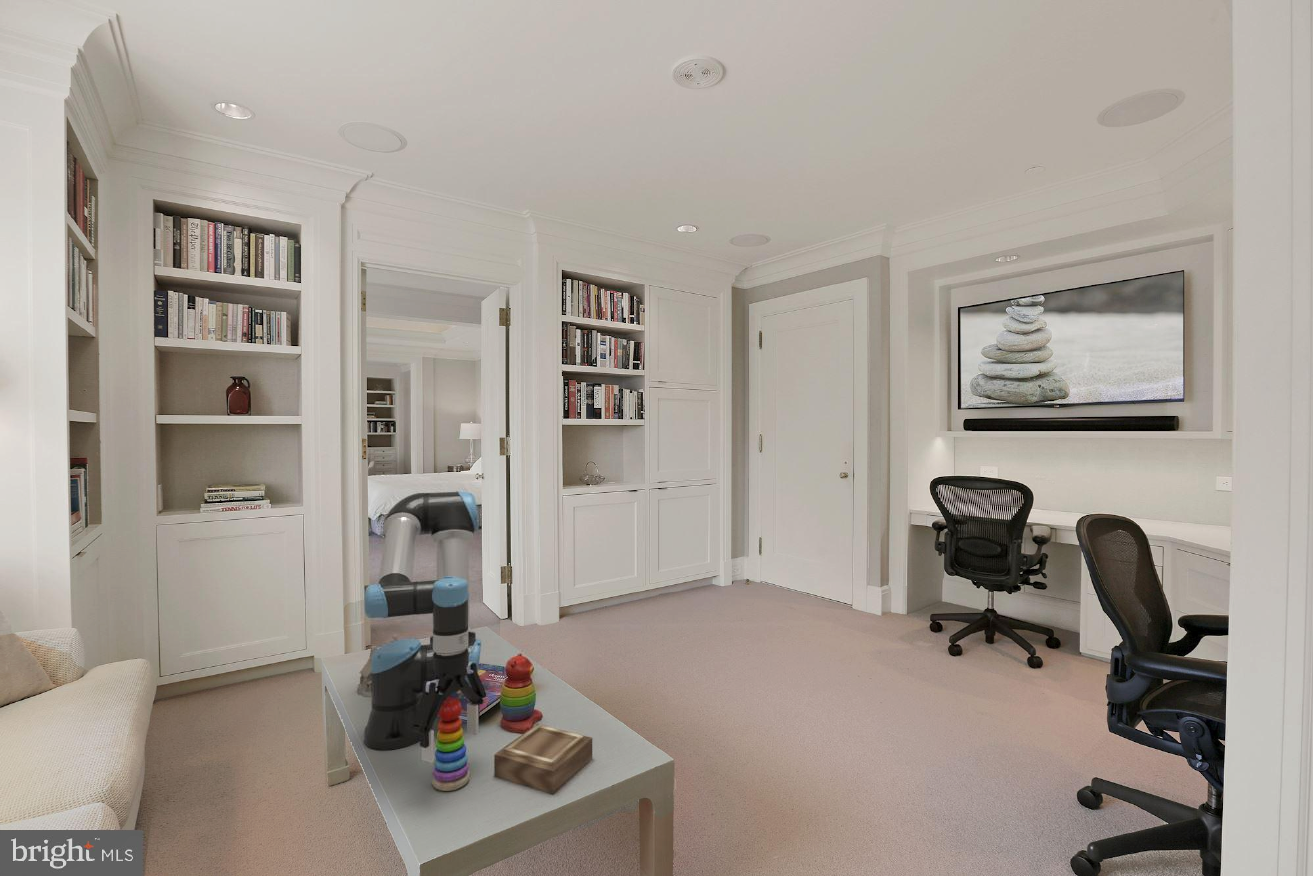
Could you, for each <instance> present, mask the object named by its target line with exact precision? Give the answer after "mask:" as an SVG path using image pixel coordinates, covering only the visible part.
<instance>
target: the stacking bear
mask: <svg viewBox="0 0 1313 876" xmlns="http://www.w3.org/2000/svg"><path fill="white" fill-rule="evenodd" d="M534 670H535V669H534V665H533V663H532V662H531V660H530V659H529V658H528V657H526V656H524V655H522V653H521V652H519V653H518V654H517V655H515V656H512V657H511V658H509V659H508V660H507V662H506V663H505V674H506V679H505V680H504V682H503V684H502V685H501V690H500V694H499V705H500V706H499V707H500V710H501V714H502V716H501V719H500V726H501V727H502V728H503V729H505V730H506V731H509V732H511V733H516V734H524V733H525V732H527V731H528V730H529V729H531V728H532V727H534V724H535V723H536V722H539V721H541V719H542V718H543V713H542V711H540V710H538V709H535V706H536V702H537V698H536V697H537V693H536V689H535V685H534V681H533V677H531V676H532V674H533V672H534Z"/></svg>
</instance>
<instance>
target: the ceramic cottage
mask: <svg viewBox="0 0 1313 876" xmlns="http://www.w3.org/2000/svg"><path fill="white" fill-rule="evenodd" d="M397 640H398V637H397V635H392V638H391V639H390V641H389V643H390V642H393V641H397ZM377 649H378V646H377V645H372V646H371V647H370V651H369V652H370V653H369V658H368V660H367V662H366V664H364V666H363V667H362V669H361V670H360V671H359V672H358V673H359V674H360V677H359V683H358V684H357V687H356V688H357V689H356V693H357V694H358V695H359V696H362V697H363V698H372V680H371V671H370V670H371V665H372V656H373V653H374V652H375V651H376V650H377Z"/></svg>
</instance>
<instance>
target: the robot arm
mask: <svg viewBox="0 0 1313 876" xmlns="http://www.w3.org/2000/svg"><path fill="white" fill-rule="evenodd" d="M478 513H479V512H478V507H477V503H476V498H475V495H474V494H473V493H472V492H470V491H458V490H456V491H443V492H441V491H440V492H418V493H414V494H410V495H408V496H406V497H404V498H402V499H401V500H399V501H398V502H397V503H395V504H394V505H393V506H392V507H391V509H390V510H389V511H388V512H387V514H386V516H385V518H384V521H383V526H382V531H383V534H384V536H385V539H384V545H383V550H382V557H381V562H380V568H379V574H378V580H377V583H375V584H370V585H368V586H367V587H366V588H365V592H364V593H365V594H364V613H365V616H366V617H367V618H369V619H378V618H380V619H381V618H382V619H387V618H395V617H397V618H398V617H405V616H413V615H414V616H415V615H417V616H418V615H428V614H432V625H433V626H432V634H431V635H430V636H429V644H422V642H421V640H420V639H418V638H410V637H409V638H408V637H407V638H403V639H402V638H401V639H397V641H393V642H390V641H389V642H387V643H386V644H384V645H382V646H380V647H377V650H376V651H375V652H374V653H373V656H372V665H371V670H370V671H371V680H372V697H371V710H370V713H369V716H368V721H367V724H366V726H365V728H364V730H363V731H364V732H363V742H364V745H366V747H368V748H371V749H375V750H381V751H388V750H394V749H400V748H406V747H407V746H411V745H413V744H415V743H417V742H419V746H420V748H421V761H424V762H427V763H434V761H435V742H434V741H435V737H434V736H435V734H434V733H435V731H434V730H433V729H432V727H433V725H434V723H435V721H436V719H437V717H438V713H439V711H440V709H441V706H442V704H443V702H444V701H445V700H447V698H448V697H450V696H451V695H453V694H454V693H456V692H459V691H460V692H461V694H462V695H463V696H464V697H465V698H466V699H467V700H468V701H469V702H468V703H467V704H466V733H468V734H473V735H478V734H479V717H480V709H481V708H480V707H481V706H480V705H483V703H484V702H485V701H484V699H485V698H487V692H486V690H485V688H484V685H483V683H482V680H481V678H480V676H479V668H480V667H479V666H480V659H481V658H480V657H481V652H482V651H481V648H482V640H481V639H480V638H477V637H476V635H477V634H476V632H475V630H474V629H473V628H471V626H470V624H471V623H470V574H469V573H470V567H469V566H470V563H469V561H470V558H469V543H470V542H471V540H472V539H474V535H475V534H474V533H475V532H478V530H479V529H480V527H479V526H480V525H479V517H478V515H479V514H478ZM420 534H431V535H430V538H431V540H432V541H433V542H434V543H435V544H436V579H434V580H422V581H413V574H414V565H415V563H414V561H415V554H416V553H415V552H416V544H417V543H416V542H417V541H416V540H417V538H418V537H419V536H420ZM440 693H441V694H440Z"/></svg>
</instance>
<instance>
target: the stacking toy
mask: <svg viewBox="0 0 1313 876" xmlns="http://www.w3.org/2000/svg"><path fill="white" fill-rule="evenodd" d="M462 708H463V707H462V703H461V701H460V700H459V699H458V698H456V697H455V696H454V697H453V696H448V698H447V700H445V701H444V702H443V704H442V706H441V709H440V711H439V713H438V715H437V717H439V719H440V720H439V722H438V723H437V728H438V731H437V733H436V738H437V740H436V742H435V748H436V749H435V751H434V757H435V758H434V761H433V763H434V764H433V765H434V767H433V771H432V775H433V777H432V781H431V782H432V785H433V787H434V788H435V789H436V790H439V791H444V792H448V791H449V792H451V791H454V790H458V789H460V788H462V787H464V786H465V785H466V784H467V783H468V782H469V780H470V778H471V773H470V771H469V762H468V753H467V745H466V744H465V736H464V730H463V727H462V725H463V720H462V719H461V718H460V715H461V712H462Z"/></svg>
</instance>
